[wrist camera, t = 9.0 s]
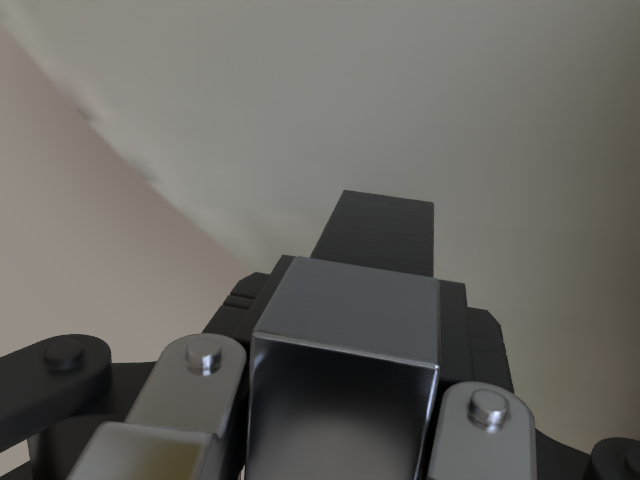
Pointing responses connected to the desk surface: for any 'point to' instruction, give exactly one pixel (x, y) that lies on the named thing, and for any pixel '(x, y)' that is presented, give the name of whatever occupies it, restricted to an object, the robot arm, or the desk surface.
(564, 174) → the desk surface
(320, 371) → the tall brushed metal prism
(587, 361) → the desk surface
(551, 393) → the desk surface
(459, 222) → the desk surface
